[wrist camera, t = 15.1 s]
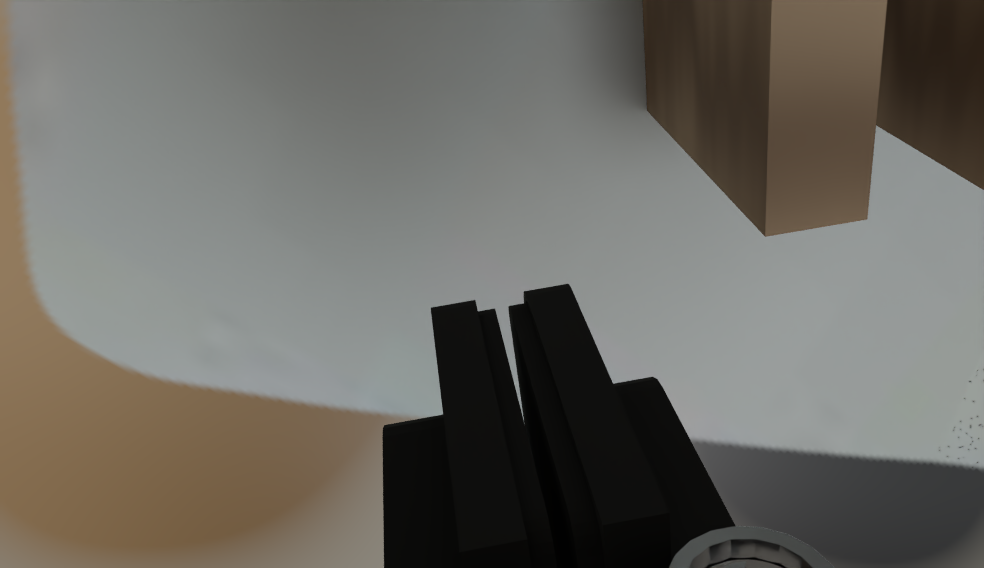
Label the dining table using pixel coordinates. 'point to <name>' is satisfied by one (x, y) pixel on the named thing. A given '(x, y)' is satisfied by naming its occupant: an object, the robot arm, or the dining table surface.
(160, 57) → the dining table surface
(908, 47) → the domino
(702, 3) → the domino
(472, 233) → the dining table surface
